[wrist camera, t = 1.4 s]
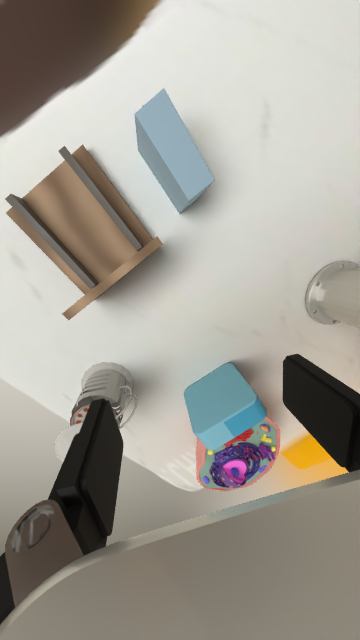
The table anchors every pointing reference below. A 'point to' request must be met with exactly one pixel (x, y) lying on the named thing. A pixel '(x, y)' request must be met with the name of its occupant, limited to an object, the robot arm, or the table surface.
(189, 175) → the light blue rectangular block
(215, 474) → the cell model
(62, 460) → the french press
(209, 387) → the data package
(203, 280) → the table surface
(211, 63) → the table surface
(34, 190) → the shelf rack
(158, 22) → the table surface
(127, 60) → the table surface
